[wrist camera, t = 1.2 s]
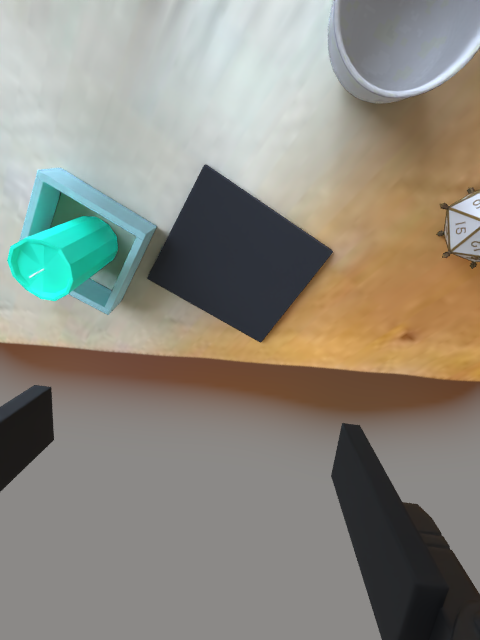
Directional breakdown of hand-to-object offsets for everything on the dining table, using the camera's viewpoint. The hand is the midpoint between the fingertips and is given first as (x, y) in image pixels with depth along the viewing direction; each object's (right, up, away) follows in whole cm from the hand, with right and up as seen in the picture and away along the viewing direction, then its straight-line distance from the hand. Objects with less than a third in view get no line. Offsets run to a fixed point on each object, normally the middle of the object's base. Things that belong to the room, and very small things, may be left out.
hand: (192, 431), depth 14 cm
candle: (-15, +15, +24) cm, 32 cm away
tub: (-15, +15, +24) cm, 32 cm away
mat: (+2, +12, +24) cm, 27 cm away
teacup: (+16, +31, +13) cm, 37 cm away
